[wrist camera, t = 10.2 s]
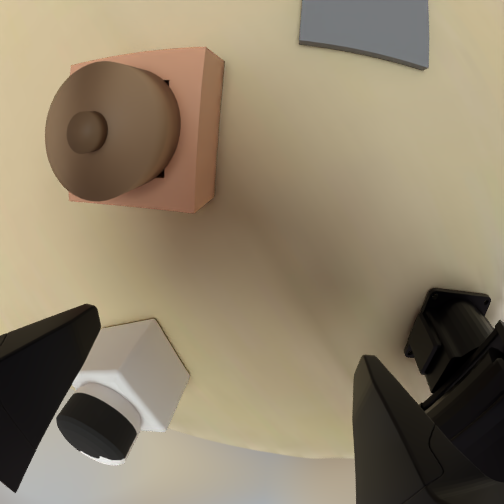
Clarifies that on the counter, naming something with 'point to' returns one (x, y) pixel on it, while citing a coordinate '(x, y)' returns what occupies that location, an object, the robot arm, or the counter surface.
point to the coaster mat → (369, 28)
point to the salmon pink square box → (191, 133)
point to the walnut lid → (111, 130)
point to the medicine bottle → (123, 391)
